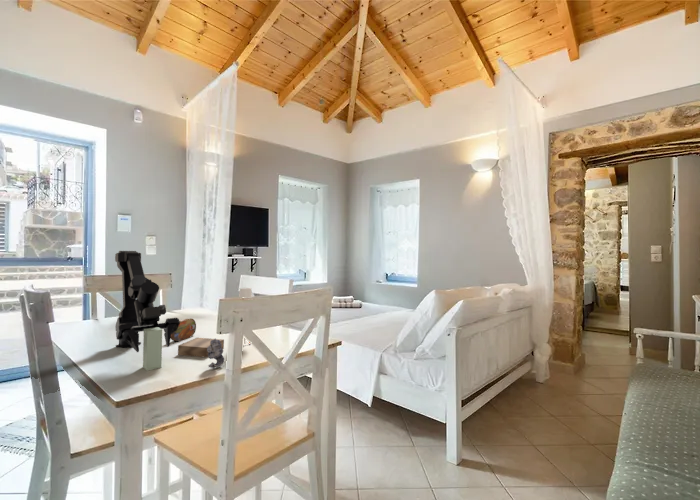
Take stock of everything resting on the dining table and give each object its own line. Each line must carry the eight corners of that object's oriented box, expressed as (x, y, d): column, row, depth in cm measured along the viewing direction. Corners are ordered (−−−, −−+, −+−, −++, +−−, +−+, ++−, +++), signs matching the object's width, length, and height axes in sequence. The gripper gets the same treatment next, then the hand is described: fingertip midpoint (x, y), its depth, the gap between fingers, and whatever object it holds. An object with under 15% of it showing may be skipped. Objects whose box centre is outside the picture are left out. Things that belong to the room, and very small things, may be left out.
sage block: (142, 367, 117) (143, 329, 117) (157, 364, 120) (158, 327, 120) (146, 370, 114) (147, 331, 114) (161, 367, 117) (162, 329, 117)
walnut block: (177, 355, 131) (178, 345, 131) (197, 347, 143) (197, 337, 143) (206, 358, 129) (206, 347, 129) (223, 349, 141) (223, 339, 141)
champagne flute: (246, 346, 143) (247, 289, 143) (232, 344, 146) (233, 288, 145) (255, 342, 150) (256, 287, 150) (242, 341, 152) (243, 286, 152)
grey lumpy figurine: (213, 371, 115) (214, 341, 115) (203, 367, 118) (204, 338, 118) (227, 366, 119) (227, 338, 119) (217, 363, 122) (217, 335, 122)
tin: (174, 343, 146) (174, 323, 146) (167, 342, 147) (168, 323, 147) (196, 334, 161) (197, 316, 161) (190, 334, 161) (191, 316, 161)
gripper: (118, 299, 113) (125, 340, 105) (178, 295, 126) (189, 331, 118) (113, 319, 119) (119, 359, 111) (171, 313, 132) (180, 348, 124)
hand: (153, 348), depth 116 cm, fingers open, 9 cm apart
